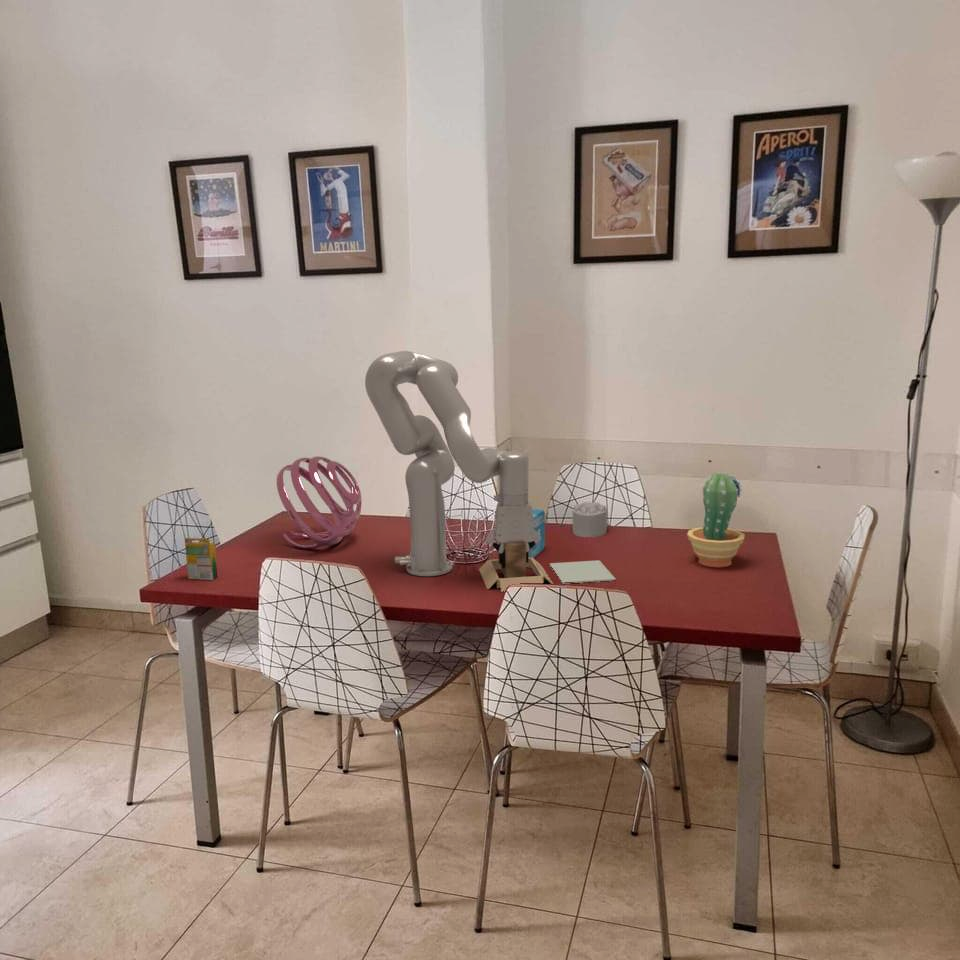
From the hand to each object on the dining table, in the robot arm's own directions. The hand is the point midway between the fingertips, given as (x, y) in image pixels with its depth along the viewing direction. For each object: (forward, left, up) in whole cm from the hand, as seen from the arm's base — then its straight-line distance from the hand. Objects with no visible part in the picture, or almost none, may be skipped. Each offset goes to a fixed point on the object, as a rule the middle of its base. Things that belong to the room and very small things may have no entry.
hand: (513, 565), depth 233 cm
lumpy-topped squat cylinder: (+31, +38, -4) cm, 49 cm away
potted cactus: (+56, +2, -4) cm, 57 cm away
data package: (+8, +20, -4) cm, 22 cm away
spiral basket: (-52, +42, -4) cm, 66 cm away
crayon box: (-83, +16, -4) cm, 84 cm away
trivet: (+18, 0, -3) cm, 19 cm away
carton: (0, 0, -3) cm, 3 cm away
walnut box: (0, 0, -3) cm, 3 cm away
